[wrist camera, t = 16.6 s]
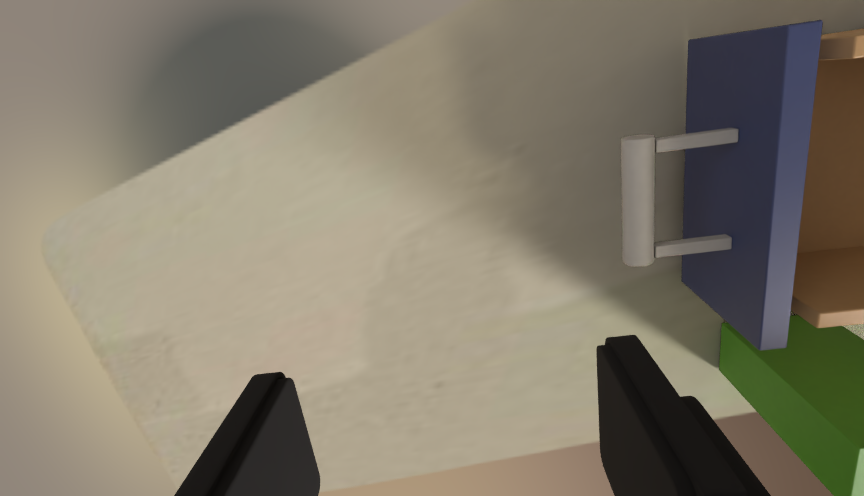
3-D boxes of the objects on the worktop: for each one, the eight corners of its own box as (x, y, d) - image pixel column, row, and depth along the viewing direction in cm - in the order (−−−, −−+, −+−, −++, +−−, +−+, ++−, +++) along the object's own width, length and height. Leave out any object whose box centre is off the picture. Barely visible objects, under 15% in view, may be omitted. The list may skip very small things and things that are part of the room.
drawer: (597, 290, 29) (646, 362, 22) (589, 54, 25) (646, 46, 18) (923, 254, 28) (1093, 318, 21) (975, -4, 24) (1214, -40, 16)
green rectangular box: (721, 322, 31) (859, 448, 20) (821, 312, 30) (1014, 435, 20) (718, 370, 32) (847, 511, 22) (815, 360, 31) (994, 500, 21)
